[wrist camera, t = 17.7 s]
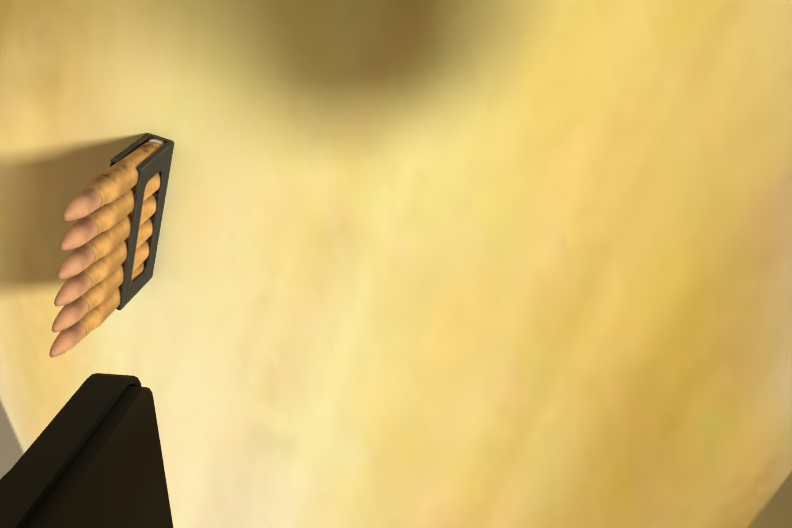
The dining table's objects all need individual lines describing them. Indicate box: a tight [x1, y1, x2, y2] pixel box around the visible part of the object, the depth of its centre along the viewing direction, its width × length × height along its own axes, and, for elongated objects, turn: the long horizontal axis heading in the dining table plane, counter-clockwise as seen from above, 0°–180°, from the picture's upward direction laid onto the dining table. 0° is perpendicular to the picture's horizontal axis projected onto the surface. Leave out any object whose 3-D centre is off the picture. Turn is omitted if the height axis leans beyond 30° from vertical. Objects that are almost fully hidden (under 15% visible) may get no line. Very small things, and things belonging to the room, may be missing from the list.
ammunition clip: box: [50, 133, 174, 357], centre depth 44 cm, size 11×2×12 cm, turn 163°
